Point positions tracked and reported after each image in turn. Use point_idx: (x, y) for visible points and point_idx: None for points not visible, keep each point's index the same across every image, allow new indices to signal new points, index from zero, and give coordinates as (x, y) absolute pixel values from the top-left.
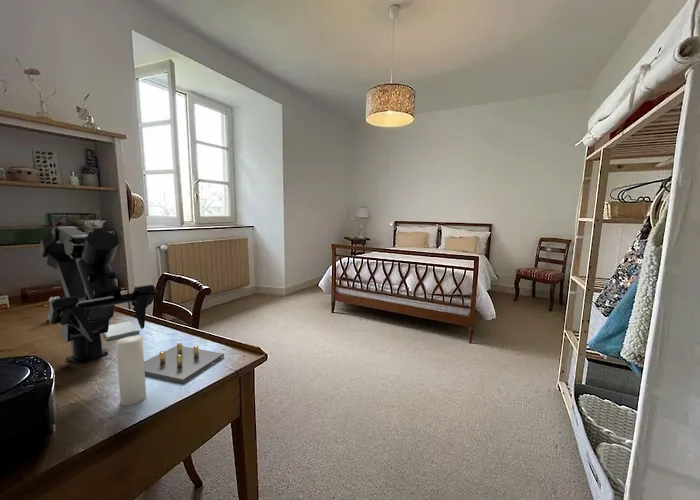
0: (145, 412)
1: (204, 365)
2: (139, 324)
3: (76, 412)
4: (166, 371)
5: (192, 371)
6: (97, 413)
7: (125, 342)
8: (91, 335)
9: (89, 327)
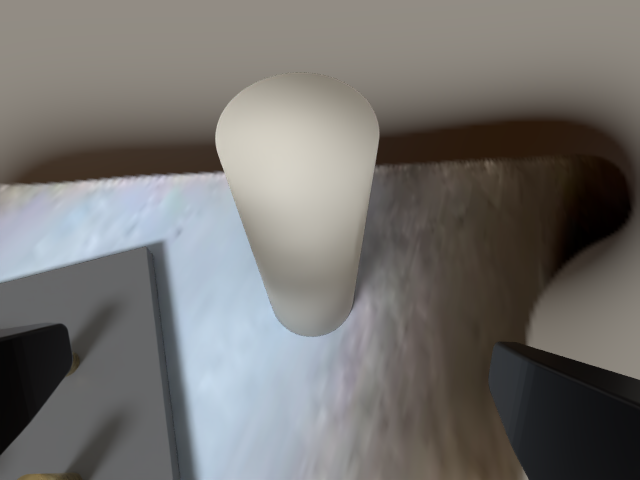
0: None
1: (14, 281)
2: (34, 406)
3: (477, 375)
4: (126, 371)
5: (79, 274)
6: (425, 304)
7: (334, 110)
8: (525, 348)
9: (581, 373)
